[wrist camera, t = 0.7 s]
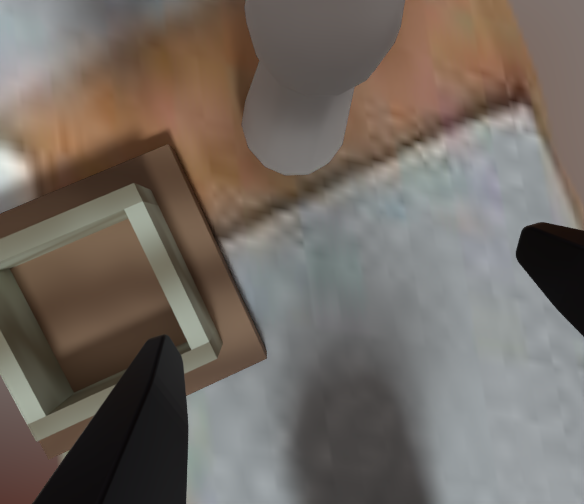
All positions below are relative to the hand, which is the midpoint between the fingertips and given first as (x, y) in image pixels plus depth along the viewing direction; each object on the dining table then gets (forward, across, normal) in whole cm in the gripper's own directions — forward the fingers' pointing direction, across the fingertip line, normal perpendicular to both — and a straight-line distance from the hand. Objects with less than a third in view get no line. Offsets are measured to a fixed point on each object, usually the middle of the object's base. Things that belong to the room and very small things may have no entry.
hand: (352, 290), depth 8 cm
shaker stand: (+12, +12, +6) cm, 18 cm away
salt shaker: (+15, -2, +1) cm, 16 cm away
